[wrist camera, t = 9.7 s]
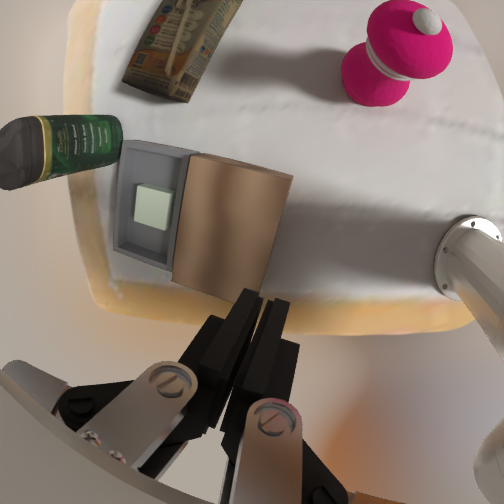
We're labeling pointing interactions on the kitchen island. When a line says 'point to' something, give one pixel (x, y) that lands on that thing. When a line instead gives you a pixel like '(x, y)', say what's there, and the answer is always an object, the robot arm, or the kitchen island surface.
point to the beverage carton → (179, 46)
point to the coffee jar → (56, 147)
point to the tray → (129, 177)
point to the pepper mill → (396, 53)
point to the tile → (154, 206)
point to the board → (227, 225)
